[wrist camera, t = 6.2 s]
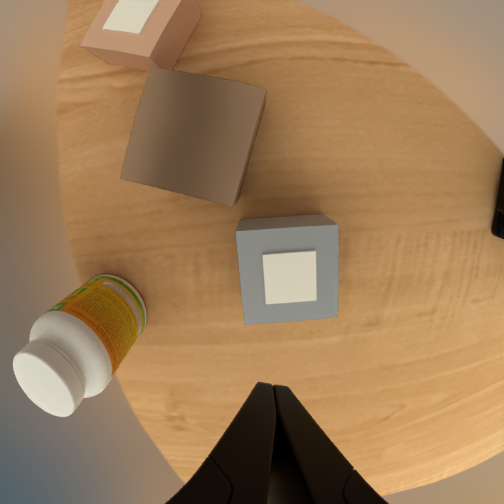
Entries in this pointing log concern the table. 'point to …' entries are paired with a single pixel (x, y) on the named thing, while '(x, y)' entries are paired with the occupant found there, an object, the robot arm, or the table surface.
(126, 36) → the tan cream-patch box
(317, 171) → the table surface
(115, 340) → the supplement bottle
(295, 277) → the grey cream-patch block
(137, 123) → the walnut block
